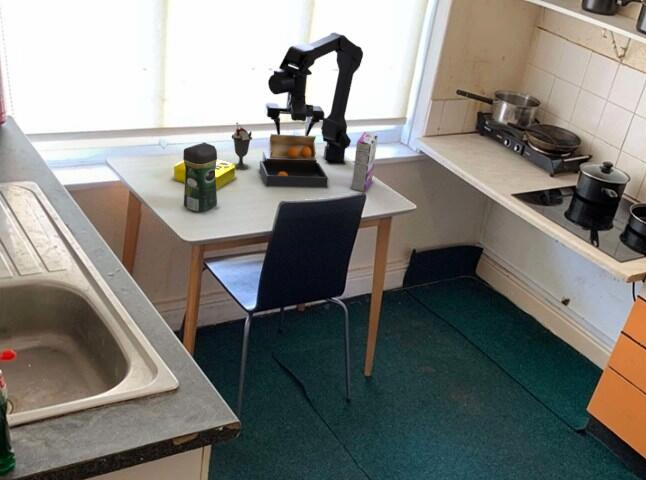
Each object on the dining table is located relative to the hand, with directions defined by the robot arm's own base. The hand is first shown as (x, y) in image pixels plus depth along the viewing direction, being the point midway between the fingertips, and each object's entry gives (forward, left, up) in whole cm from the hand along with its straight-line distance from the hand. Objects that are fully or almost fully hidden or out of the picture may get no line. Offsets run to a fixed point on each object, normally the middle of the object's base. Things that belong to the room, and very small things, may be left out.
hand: (292, 137), depth 252 cm
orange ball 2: (0, +3, -4) cm, 5 cm away
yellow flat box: (+29, +7, -12) cm, 32 cm away
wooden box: (0, 0, -5) cm, 5 cm away
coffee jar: (+33, +29, -12) cm, 46 cm away
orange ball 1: (+4, +10, -10) cm, 15 cm away
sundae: (+16, -4, -12) cm, 20 cm away
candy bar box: (-23, +9, -12) cm, 28 cm away
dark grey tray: (0, +6, -12) cm, 13 cm away
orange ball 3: (-4, +3, -4) cm, 6 cm away
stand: (0, -1, -12) cm, 12 cm away
